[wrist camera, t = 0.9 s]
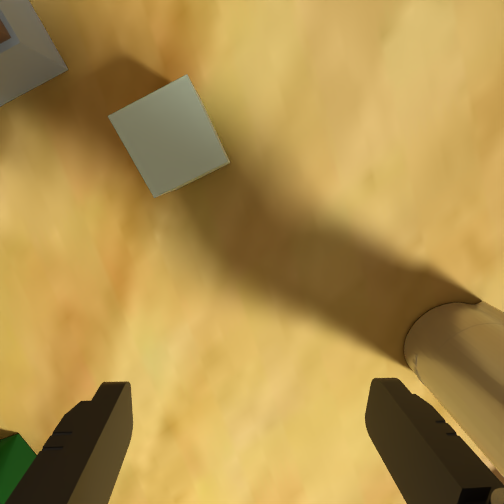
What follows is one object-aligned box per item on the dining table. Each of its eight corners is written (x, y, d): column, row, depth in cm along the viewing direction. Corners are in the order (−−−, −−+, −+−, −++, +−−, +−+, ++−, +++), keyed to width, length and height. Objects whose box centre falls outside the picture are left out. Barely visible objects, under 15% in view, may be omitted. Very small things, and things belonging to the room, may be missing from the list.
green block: (202, 101, 22) (186, 74, 15) (230, 162, 24) (228, 161, 17) (146, 130, 23) (107, 116, 16) (177, 189, 24) (154, 198, 17)
